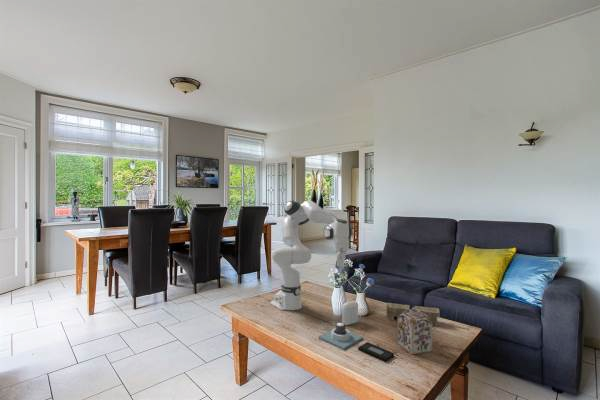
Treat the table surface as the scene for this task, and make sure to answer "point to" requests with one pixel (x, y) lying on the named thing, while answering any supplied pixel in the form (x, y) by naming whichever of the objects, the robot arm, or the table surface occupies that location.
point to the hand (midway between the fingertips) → (341, 271)
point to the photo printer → (350, 313)
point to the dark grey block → (340, 328)
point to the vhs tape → (376, 352)
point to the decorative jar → (414, 331)
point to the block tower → (399, 308)
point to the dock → (340, 343)
